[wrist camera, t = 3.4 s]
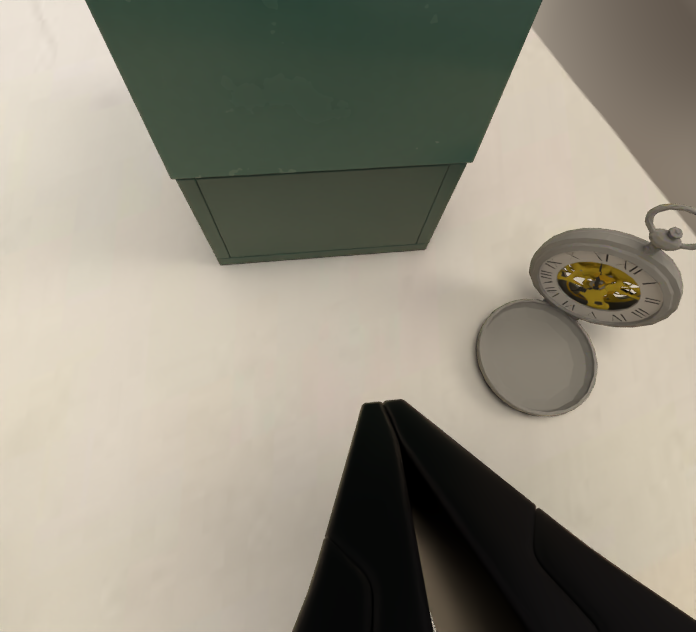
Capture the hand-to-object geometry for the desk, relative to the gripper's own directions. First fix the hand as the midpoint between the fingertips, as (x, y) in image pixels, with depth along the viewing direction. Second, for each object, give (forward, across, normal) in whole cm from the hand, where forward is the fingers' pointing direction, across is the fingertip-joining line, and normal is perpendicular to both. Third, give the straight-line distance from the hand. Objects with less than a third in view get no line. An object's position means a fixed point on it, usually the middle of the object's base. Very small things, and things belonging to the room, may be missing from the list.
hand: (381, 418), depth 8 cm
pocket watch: (+13, -12, +7) cm, 19 cm away
